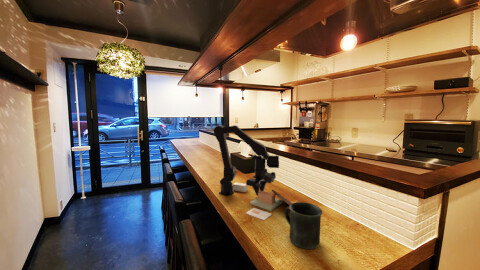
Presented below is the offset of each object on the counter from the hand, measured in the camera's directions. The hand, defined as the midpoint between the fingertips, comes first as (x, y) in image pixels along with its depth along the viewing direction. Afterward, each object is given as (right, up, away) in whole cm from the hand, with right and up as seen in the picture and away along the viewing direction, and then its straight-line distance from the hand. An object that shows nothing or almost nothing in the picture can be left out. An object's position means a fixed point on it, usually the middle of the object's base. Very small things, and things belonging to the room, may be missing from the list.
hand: (259, 194), depth 112 cm
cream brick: (-11, 0, +9) cm, 14 cm away
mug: (+11, -5, -39) cm, 41 cm away
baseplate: (+3, -2, -10) cm, 10 cm away
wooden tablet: (+16, -3, -17) cm, 24 cm away
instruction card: (-2, -3, -21) cm, 21 cm away
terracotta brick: (+3, -1, -10) cm, 10 cm away
